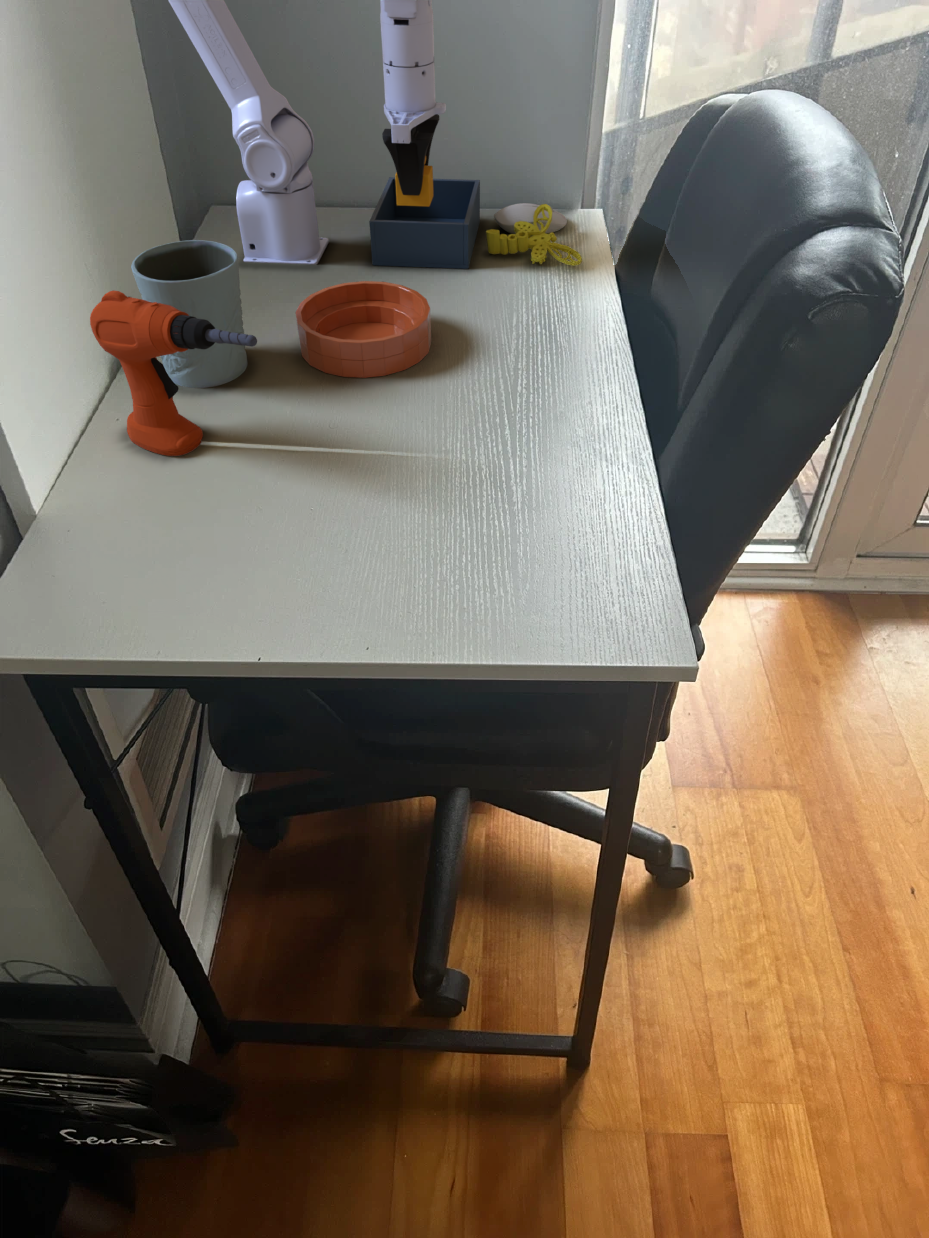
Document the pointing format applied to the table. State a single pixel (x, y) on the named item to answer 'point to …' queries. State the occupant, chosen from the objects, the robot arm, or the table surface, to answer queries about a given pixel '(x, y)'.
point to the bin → (427, 227)
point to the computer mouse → (527, 217)
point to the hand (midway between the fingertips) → (414, 188)
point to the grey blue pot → (197, 304)
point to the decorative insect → (531, 240)
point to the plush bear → (425, 193)
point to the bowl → (364, 329)
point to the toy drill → (155, 364)
